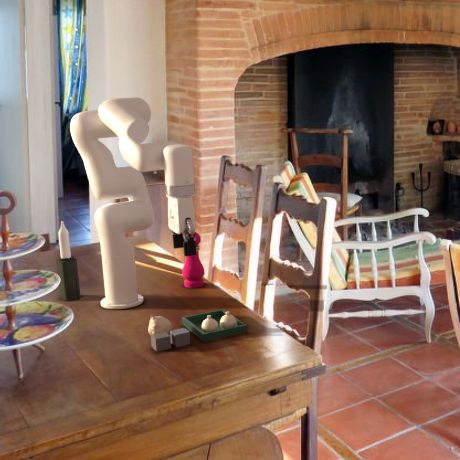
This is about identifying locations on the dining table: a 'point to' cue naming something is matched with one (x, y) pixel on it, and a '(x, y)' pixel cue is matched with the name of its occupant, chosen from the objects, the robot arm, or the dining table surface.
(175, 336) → the grey block
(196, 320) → the green tray
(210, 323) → the white bulb
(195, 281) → the pepper mill
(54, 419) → the dining table surface
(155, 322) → the garlic bulb
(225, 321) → the white bulb
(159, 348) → the grey block
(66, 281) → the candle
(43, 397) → the dining table surface
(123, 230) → the robot arm
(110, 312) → the dining table surface
